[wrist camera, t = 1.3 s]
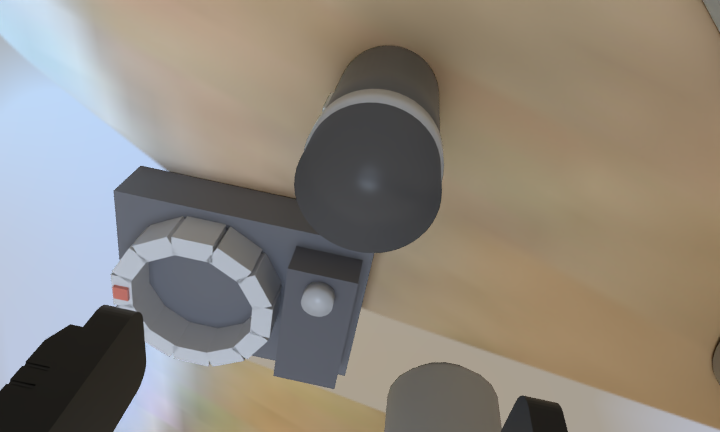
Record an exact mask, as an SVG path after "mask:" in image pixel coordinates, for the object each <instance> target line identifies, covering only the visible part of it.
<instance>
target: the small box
mask: <svg viewBox="0 0 720 432" xmlns="http://www.w3.org/2000/svg"><path fill="white" fill-rule="evenodd" d="M703 2H704V4H705V6H706V8H707V9H708V11H709V13H710V15H711V17H712V19H713V21H714V23H715V25H716V26H717V28H718V30H719V32H720V0H703Z"/></svg>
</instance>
